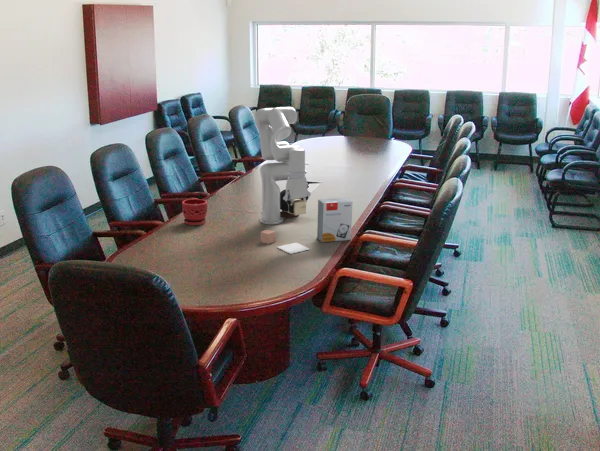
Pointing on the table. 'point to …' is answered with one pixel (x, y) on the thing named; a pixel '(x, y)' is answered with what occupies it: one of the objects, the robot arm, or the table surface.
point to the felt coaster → (293, 248)
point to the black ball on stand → (285, 207)
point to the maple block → (298, 207)
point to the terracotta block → (268, 236)
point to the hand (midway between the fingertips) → (297, 211)
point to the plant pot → (194, 211)
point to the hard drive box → (334, 219)
